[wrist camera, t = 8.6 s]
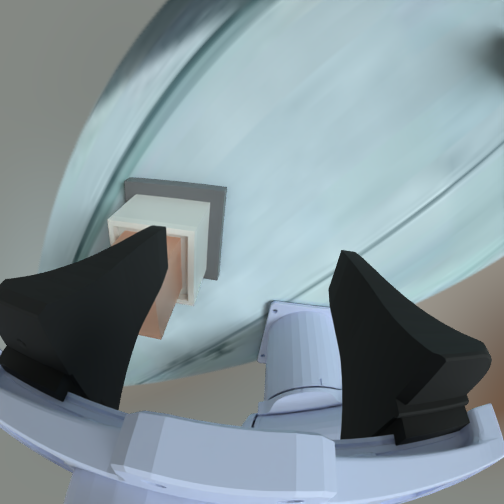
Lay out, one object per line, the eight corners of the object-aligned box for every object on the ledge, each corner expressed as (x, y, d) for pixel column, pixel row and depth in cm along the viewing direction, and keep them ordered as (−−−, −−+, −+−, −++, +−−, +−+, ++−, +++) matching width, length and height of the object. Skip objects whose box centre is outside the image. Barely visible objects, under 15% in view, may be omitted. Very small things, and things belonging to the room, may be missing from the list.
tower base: (219, 273, 25) (207, 318, 20) (136, 259, 25) (110, 298, 20) (227, 187, 21) (212, 218, 16) (130, 177, 21) (93, 204, 16)
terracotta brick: (182, 286, 19) (161, 339, 15) (131, 278, 19) (102, 325, 15) (180, 237, 17) (153, 287, 13) (124, 230, 17) (87, 274, 13)
